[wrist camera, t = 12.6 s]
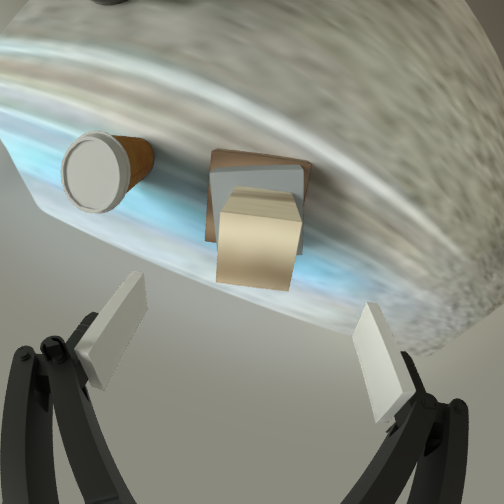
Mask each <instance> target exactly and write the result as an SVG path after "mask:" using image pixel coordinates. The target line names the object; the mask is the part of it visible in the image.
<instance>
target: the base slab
mask: <svg viewBox="0 0 504 504" xmlns="http://www.w3.org/2000/svg"><path fill="white" fill-rule="evenodd" d="M252 165H300V166H301V167H302V168H303V171H304V197H303V207H304V201H305V196H306V191H307V185H308V180H309V174H310V168H311V164H310V163H309V162H308V161H306V160H300V159H294V158H288V157H281V156H275V155H268V154H261V153H253V152H245V151H236V150H226V149H215V150H213V151H212V153H211V164H210V172H211V171H213V170H214V169H215V168H216V167H232V166H252ZM205 241H207V242H214V243H216V234H215V225H214V215H213V205H212V195H211V185H210V175H209V187H208V200H207V214H206V230H205Z"/></svg>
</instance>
